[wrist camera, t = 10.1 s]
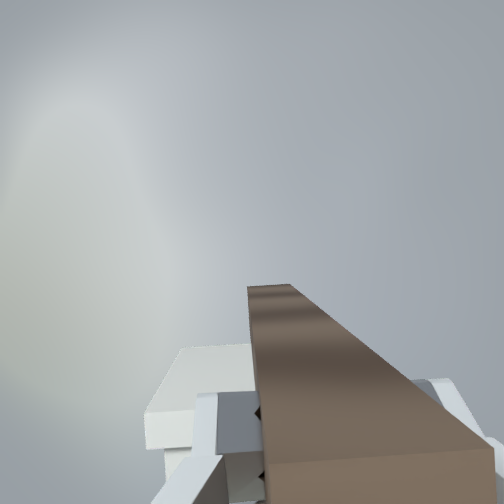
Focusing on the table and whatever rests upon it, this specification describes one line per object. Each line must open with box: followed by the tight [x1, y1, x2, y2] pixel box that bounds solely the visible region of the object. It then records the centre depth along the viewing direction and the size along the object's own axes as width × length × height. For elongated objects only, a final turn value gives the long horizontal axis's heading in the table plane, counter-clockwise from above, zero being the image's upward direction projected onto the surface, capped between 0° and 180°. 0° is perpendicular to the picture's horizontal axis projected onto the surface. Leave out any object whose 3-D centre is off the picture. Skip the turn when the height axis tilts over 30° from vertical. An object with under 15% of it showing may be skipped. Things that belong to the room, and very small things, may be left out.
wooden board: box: [247, 284, 497, 504], centre depth 18 cm, size 24×3×3 cm, turn 1°
